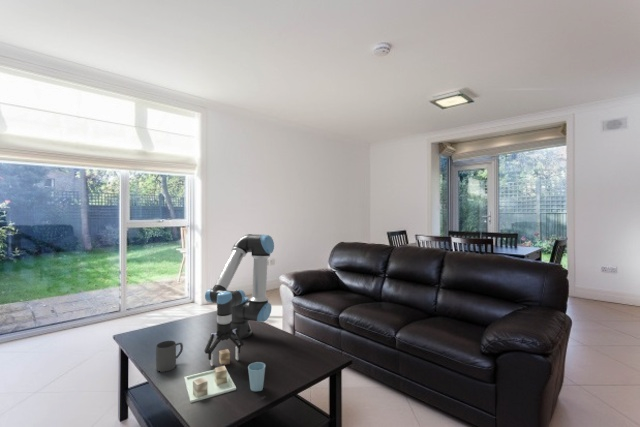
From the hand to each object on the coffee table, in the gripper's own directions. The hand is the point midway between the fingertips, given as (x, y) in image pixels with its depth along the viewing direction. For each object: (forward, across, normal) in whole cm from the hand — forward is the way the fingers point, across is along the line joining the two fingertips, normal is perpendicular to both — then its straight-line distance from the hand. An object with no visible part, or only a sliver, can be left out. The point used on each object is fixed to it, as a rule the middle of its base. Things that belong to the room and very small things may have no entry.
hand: (224, 362), depth 165 cm
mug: (0, +25, -11) cm, 27 cm away
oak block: (0, 0, 0) cm, 0 cm away
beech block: (0, +6, +18) cm, 19 cm away
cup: (0, -7, +31) cm, 32 cm away
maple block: (0, +16, +24) cm, 29 cm away
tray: (0, +11, +18) cm, 21 cm away
